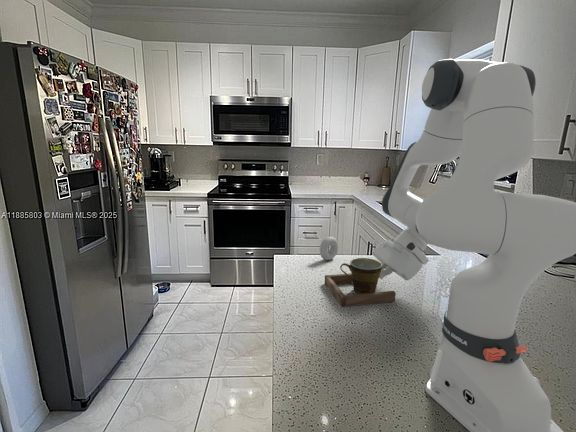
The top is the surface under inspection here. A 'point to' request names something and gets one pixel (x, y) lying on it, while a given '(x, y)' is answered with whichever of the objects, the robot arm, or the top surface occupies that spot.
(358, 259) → the ceramic cup
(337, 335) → the top surface
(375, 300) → the wooden u-shaped frame
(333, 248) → the donut
